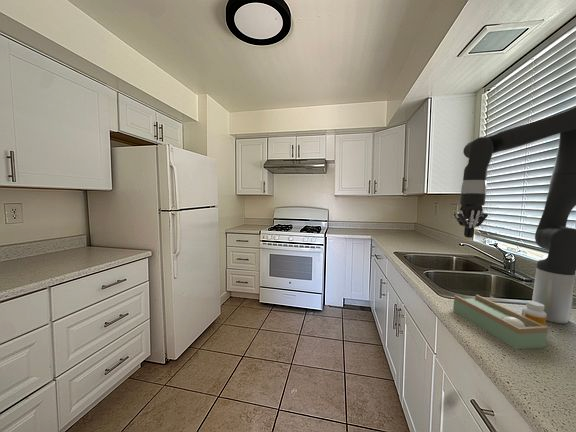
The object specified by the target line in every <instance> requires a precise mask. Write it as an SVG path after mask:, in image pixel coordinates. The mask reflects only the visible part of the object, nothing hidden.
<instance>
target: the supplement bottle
mask: <svg viewBox="0 0 576 432" xmlns="http://www.w3.org/2000/svg"><path fill="white" fill-rule="evenodd" d="M543 310H544V305H543V304H541V303H538V302H535V301H532V300H526V302H525V306H524V307H522V309H521V315H522V316H524V317H527V318H529V319H531V320H533V321H535V322H537V323H539V324H542V325H544V326H546V322H547V320H546V316H547V315H546V313H545V312H544V311H543Z"/></svg>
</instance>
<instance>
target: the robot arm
mask: <svg viewBox="0 0 576 432" xmlns="http://www.w3.org/2000/svg"><path fill="white" fill-rule="evenodd" d="M558 134H559V140H558V148H557V152H556V156H555V162H554V166H553V170H552V173H551V177H550V182H549V187H548V191H547V192H548V193H547V196H546V200H545V205H544V209H543V211H542V215H541V216H540V220H539V223H538V225H537V228H536V231H535V236H534V240H535V243H536V245H537V246H538V247H540V248H541V249H543V250H547V251H548V252H547V257H546V258H545V259H539V260H538V261H537V262H536V269H535V277H534V283H533V292H532V299H531V301H535V302H538V303H541V304H543V305H544V310H543V311H544V312H545V313H546V315H547V316H546V322H547V321H548V322H551V323H557V324H568V323H569V322H570V320H571V315H572V308H573V301H574V294H573V291H574V285H575V277H576V228H573V227H568V226H567V223H568V218H569V216H570V214H571V212H572V210H573V209H574V208H575V207H576V105H575V106H572V107H571V108H569V109H568V110H566V111H564V112H560V113H558V114H555V115H552V116H549V117H546V118H543V119H539V120H535V121H531V122H528V123H524V124H522V125H521V124H520V125H518V126H515V127H510V128H508V129H505V130H502V131H499V132H497V133H495V134H493V135H490V136H481V137H477V138H475V139H474V140H472V141H470V142H468V143H466V145H465V146H464V148H463V152H462V153H463V155H464V156H465V158H468V162H467V164H466V166H465V167H464V169H463V179H462V184H461V188H460V190H461V191H460V200H459V204H460V205H461V206H460V208H459V211H457V212H454V214H453V216H454V217H455V219H456V221H457V222H458V224H459V225H460V226H462V227H464V231H463V236H464V237H465V238H468V239H469V238H471V239H472V238H473V237H474V234H475V228H477V227H480V226H481V225H482V223H484V222H485V220H486V219H487V218H488V217H489V214H488V213H485V212H484V209H483V206H485V204H486V195H487V180H488V177H487V176H488V168H489V165H490V162H491V161H492V160H491V159H492V156H493V154H495V153H498V152H502V151H503V152H504V151H508V150H511V149H516V148H518V147H522V146H525V145H528V144H530V143H531V144H532V143H534V142H536V141H537V142H538V141H540V140H543V139H545V138H548V137H551V136H555V135H558Z"/></svg>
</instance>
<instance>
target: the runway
mask: <svg viewBox="0 0 576 432" xmlns="http://www.w3.org/2000/svg"><path fill="white" fill-rule="evenodd" d="M452 311H453V312H454V313H456V314H457V315H459V316H461V317H463V318H464V319H466V320H468V321H469V322H471V323H473V324H475V325H476V327H477V326H478V327H479V328H481V329H482V330H484V331H485V332H488V333H489V334H490V335H492V336H494V337H496V338H497V339H499V340H501V341H502V342H504V343H506V344H507V345H509V346H511V347H512V348H513V349H516V350H526V349H538V348H539V349H540V348H543V349H544V348H546V345H547V339H548V331H549V327H548V326H546V325H545V326H544V325H542V324H539V323H537V322H535V321H533V320H531V319H529V318H527V317H524V316H522V314H521V313H518V312H516V311H513V310H511V309H509V308H507V307H505V306H502V305H500V304H499V303H496V302H494V301H492V300H490V299H487V298H486V297H483V296H481V295H479V294H475V297H474V298H463V297H461V296H458V295H454V298H453V308H452ZM504 317H515V318H517V319H519V320H520V321H522V322H523V324H524V325H525V327H517V326H515V325H513V324H511V323H509V322H507V321H505V320H503V319H502V318H504Z"/></svg>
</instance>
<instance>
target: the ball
mask: <svg viewBox="0 0 576 432" xmlns="http://www.w3.org/2000/svg"><path fill="white" fill-rule="evenodd" d="M502 319H503V320H505V321H507V322H509V323H511V324H513V325H515V326H517V327H525V325H524V324H523V322H522V321H520V320H519V319H517V318H515V317H504V318H502Z"/></svg>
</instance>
